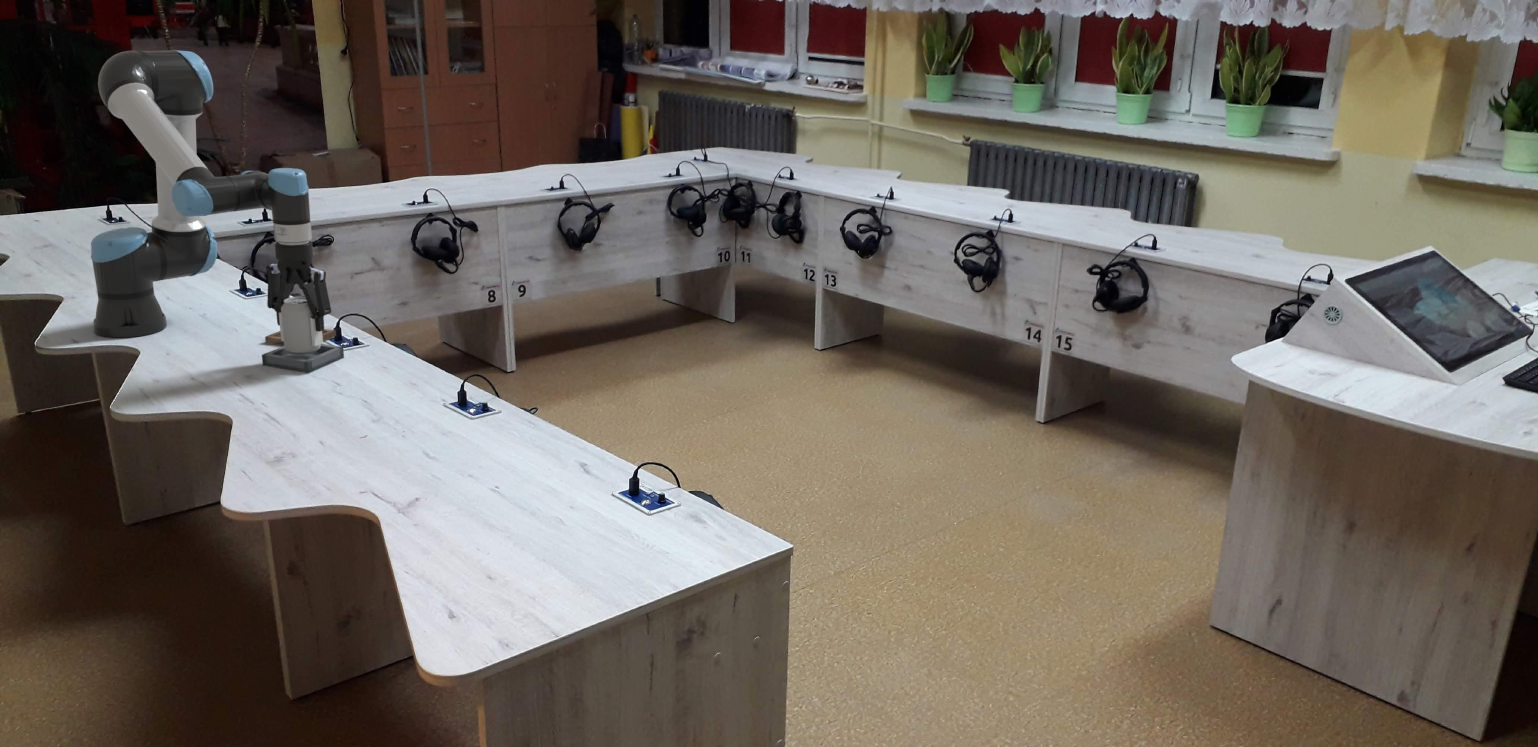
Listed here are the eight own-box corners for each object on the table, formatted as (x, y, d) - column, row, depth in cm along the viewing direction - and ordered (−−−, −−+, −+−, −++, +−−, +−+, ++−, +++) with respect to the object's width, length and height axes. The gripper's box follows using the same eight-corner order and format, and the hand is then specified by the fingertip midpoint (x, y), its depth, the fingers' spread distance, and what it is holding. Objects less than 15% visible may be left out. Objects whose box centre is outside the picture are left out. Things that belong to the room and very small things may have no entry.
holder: (265, 342, 261) (265, 336, 260) (297, 330, 271) (296, 324, 270) (305, 349, 258) (305, 342, 258) (336, 336, 268) (335, 330, 268)
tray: (262, 365, 246) (261, 354, 245) (299, 350, 257) (298, 340, 256) (309, 373, 243) (308, 362, 242) (344, 357, 254) (343, 347, 253)
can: (308, 357, 245) (304, 305, 241) (277, 354, 246) (272, 301, 242) (327, 348, 252) (323, 297, 248) (297, 344, 253) (293, 293, 249)
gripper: (241, 239, 240) (252, 340, 248) (322, 250, 235) (330, 353, 242) (266, 233, 247) (275, 331, 254) (344, 243, 242) (351, 343, 249)
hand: (302, 342), depth 248 cm, fingers closed on can, 7 cm apart
